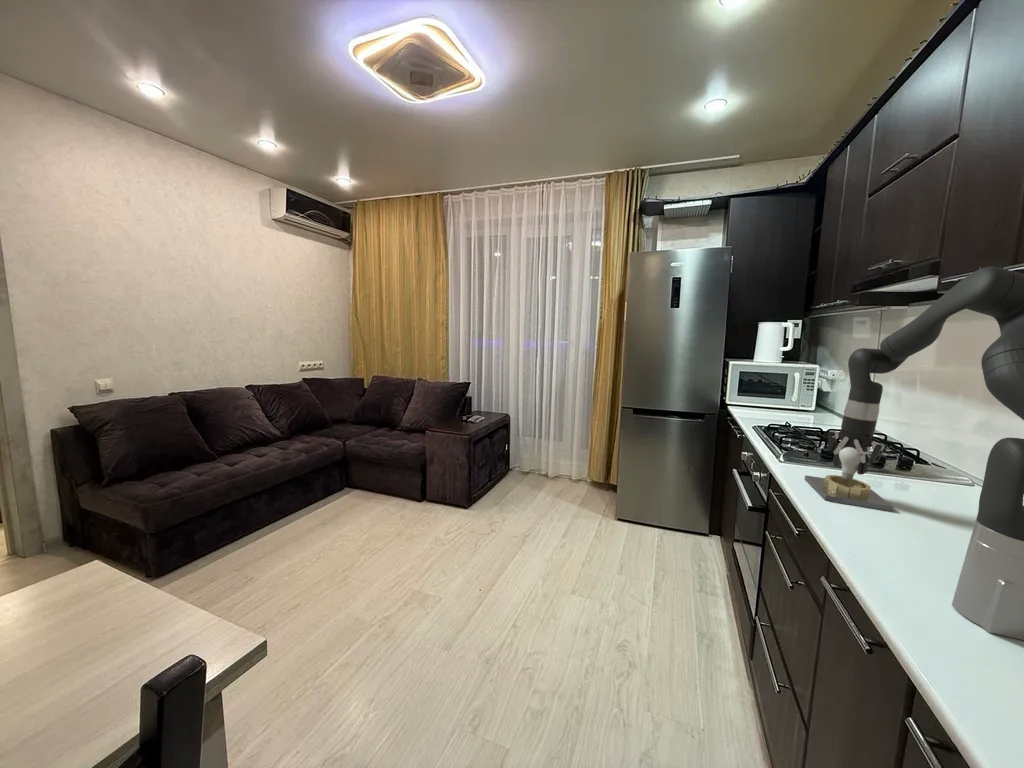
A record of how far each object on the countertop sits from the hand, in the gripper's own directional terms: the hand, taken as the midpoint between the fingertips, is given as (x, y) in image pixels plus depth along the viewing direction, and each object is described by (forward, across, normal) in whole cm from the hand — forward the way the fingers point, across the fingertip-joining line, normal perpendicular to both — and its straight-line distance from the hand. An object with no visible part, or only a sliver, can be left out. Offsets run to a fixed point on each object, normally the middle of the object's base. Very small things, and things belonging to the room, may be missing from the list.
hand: (848, 469), depth 118 cm
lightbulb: (+4, 0, 0) cm, 4 cm away
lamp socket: (+8, 0, 0) cm, 8 cm away
